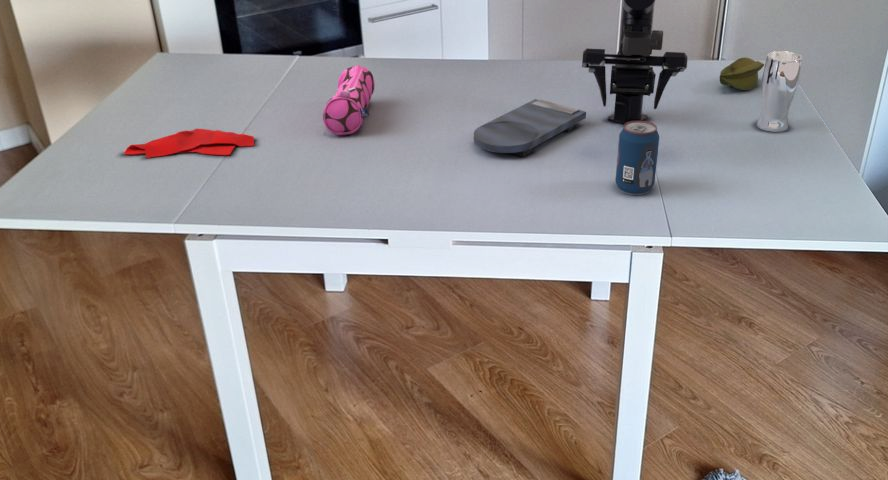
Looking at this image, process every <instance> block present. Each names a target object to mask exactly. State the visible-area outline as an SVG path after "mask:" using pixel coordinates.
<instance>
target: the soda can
mask: <svg viewBox="0 0 888 480" xmlns="http://www.w3.org/2000/svg"><path fill="white" fill-rule="evenodd" d="M659 143H660V134H659V132H658V126H657V125H656V124H655V123H653V122H650V121H646V120H644V121H630V122H627V123H625V124H623V128H622V130H621V131H620V133H619V135H618V147H617V157H616V158H617V159H616V170H615V184H616V186H617V188H618V190H619V191H620V192H621V193H623V194H626V195H631V196H642V195H645V194H648V193H649V192H650V191H651V190H652V189H653V187H655V184H656V183H655V182H656V172H657V162H658V153H659V145H660V144H659Z"/></svg>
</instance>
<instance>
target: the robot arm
mask: <svg viewBox="0 0 888 480" xmlns="http://www.w3.org/2000/svg"><path fill="white" fill-rule="evenodd" d="M655 4H656V0H622V4H621V5H622V6H621V18H620V31H619V42H618V51H617V53H616V54H613V53H606V49H605V48H585V49H584V50H583V51H582V58H581V59H582V61H581V68H583V69H588V71H587V72H588V73H591V74H593V75H594V78H595V81H596V84H597V86H598V89H599V93H600V97H601V102H602V107H604V108H605V107H606V106H607V80H606V79H607V78H606V76H607V75H606V65H611V69H610V85H609V95H615V100H614V110H613V114H611V115H610V116H608V117H607V121H609V122H614V123H617V124H621V125H624V124H625V123H627V122H630V121H646V120H647V119H648V118H649V115H648V114H645V113H643V104H644V96H648V97H651V95H652V94H654V91H655V94H654V95H655V96H654V101H653V110H657V108H658V106H659V103H660V101H661V98H662V96H663V92H664V91H665V88H666V86H667V85H668V83H669V81H670V79H671V77H676V76H678V74H679V73H684V72H685V70H687V68H688V55H687V54H686V52H682V51H681V52H679V51H678V52H677V51H674V52H673V51H665V52H664V54H663V56H660V55H653V51H662V49H663V42H664V41H663V40H664V30H655V29H653V24H654V12H655ZM654 67H658V68H659V67H660V68H661V71H660V72H659V75H658V80H657V84H656V85H657V86H656V90H655V83H656V77H657V74H656V73H655V71H654Z"/></svg>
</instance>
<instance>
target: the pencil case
mask: <svg viewBox="0 0 888 480" xmlns="http://www.w3.org/2000/svg"><path fill="white" fill-rule="evenodd" d="M374 91H375V78H374V75H373V73H372V72H371V71H370V69H368V68H367V67H366V66H361V65H359V64H357V65H353V66H349V67H347V68H345V69H344V70H343V71H342V72H341V73H340V74H339V78H338V81H337V90H336V93H335V95H334V96H331V98H330V99H328V101H327V102H326V103H325V106H324V108H323V113H322V121H323V124H324V127H325V128H326V130H327V131H328V132H330V133H331V134H333V135H335V136H341V137H343V136H348V135H352V134H354V133H356V132H358V131H359V130H360V129H361V127H362V125H363V123H364V117H366V116H370V111H369V109H368V108H369V105H370V101H371V99H372V96H373V94H374Z"/></svg>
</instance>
